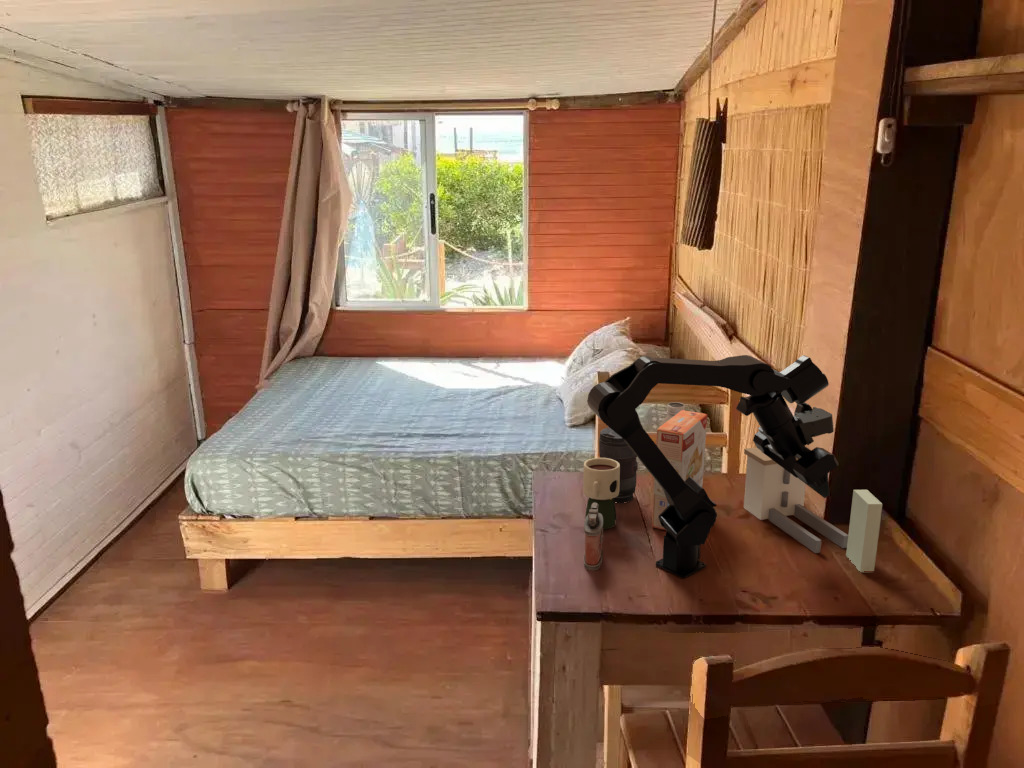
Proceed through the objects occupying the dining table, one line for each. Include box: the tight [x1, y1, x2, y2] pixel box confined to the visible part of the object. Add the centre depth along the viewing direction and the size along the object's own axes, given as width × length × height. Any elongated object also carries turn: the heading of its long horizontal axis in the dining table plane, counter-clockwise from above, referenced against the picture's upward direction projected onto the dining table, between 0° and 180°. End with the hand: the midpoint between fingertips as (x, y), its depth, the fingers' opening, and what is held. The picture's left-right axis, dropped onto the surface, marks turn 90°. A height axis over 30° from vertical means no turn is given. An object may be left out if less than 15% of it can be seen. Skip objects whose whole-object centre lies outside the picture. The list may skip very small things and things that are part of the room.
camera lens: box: [598, 426, 639, 504], centre depth 165 cm, size 8×8×15 cm
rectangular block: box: [845, 489, 883, 573], centre depth 137 cm, size 2×6×13 cm, turn 0°
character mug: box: [582, 457, 620, 530], centre depth 153 cm, size 11×7×13 cm, turn 161°
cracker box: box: [651, 409, 708, 531], centre depth 154 cm, size 14×6×21 cm, turn 148°
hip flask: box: [583, 503, 604, 571], centre depth 140 cm, size 8×3×10 cm, turn 170°
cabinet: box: [743, 446, 848, 554], centre depth 151 cm, size 11×22×13 cm, turn 17°
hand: (812, 485), depth 139 cm, fingers open, 9 cm apart
